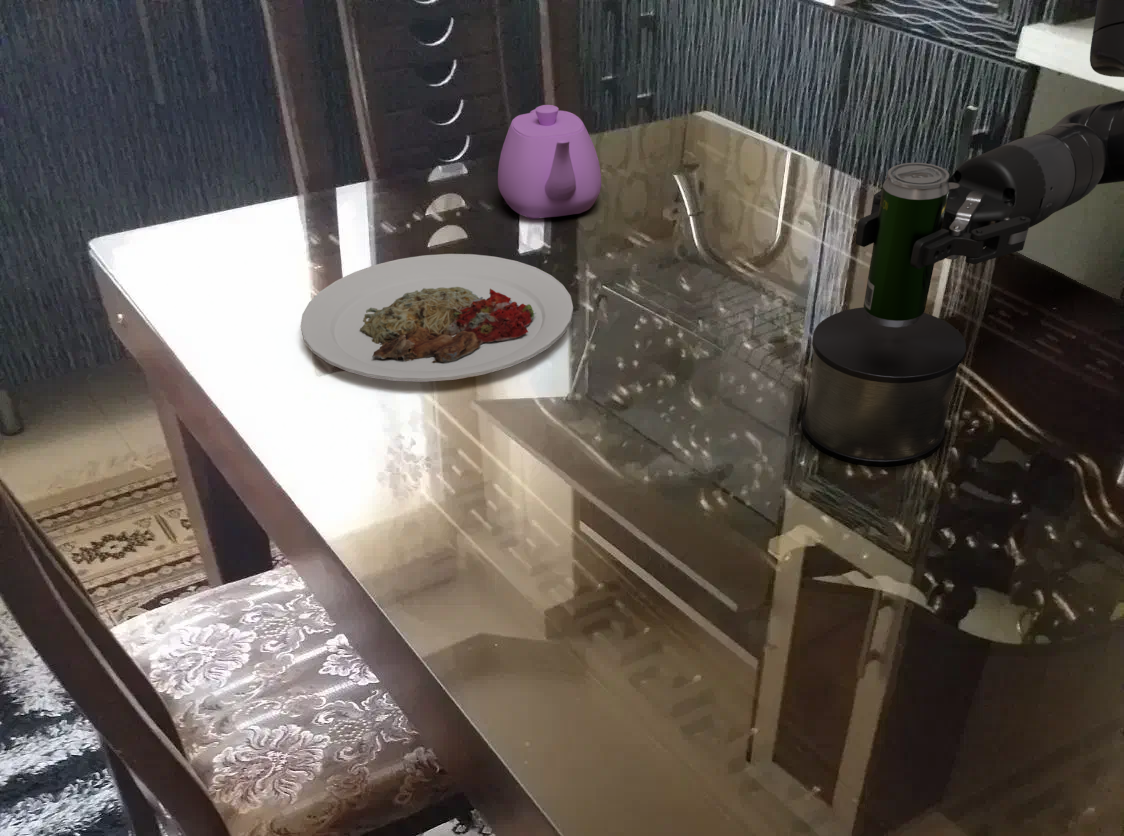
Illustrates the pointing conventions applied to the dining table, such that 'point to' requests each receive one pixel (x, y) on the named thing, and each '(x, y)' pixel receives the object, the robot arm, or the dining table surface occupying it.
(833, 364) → the steel bin
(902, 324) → the beer can
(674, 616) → the dining table surface
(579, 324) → the dining table surface
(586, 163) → the teapot
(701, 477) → the dining table surface
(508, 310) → the plated food
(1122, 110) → the robot arm
